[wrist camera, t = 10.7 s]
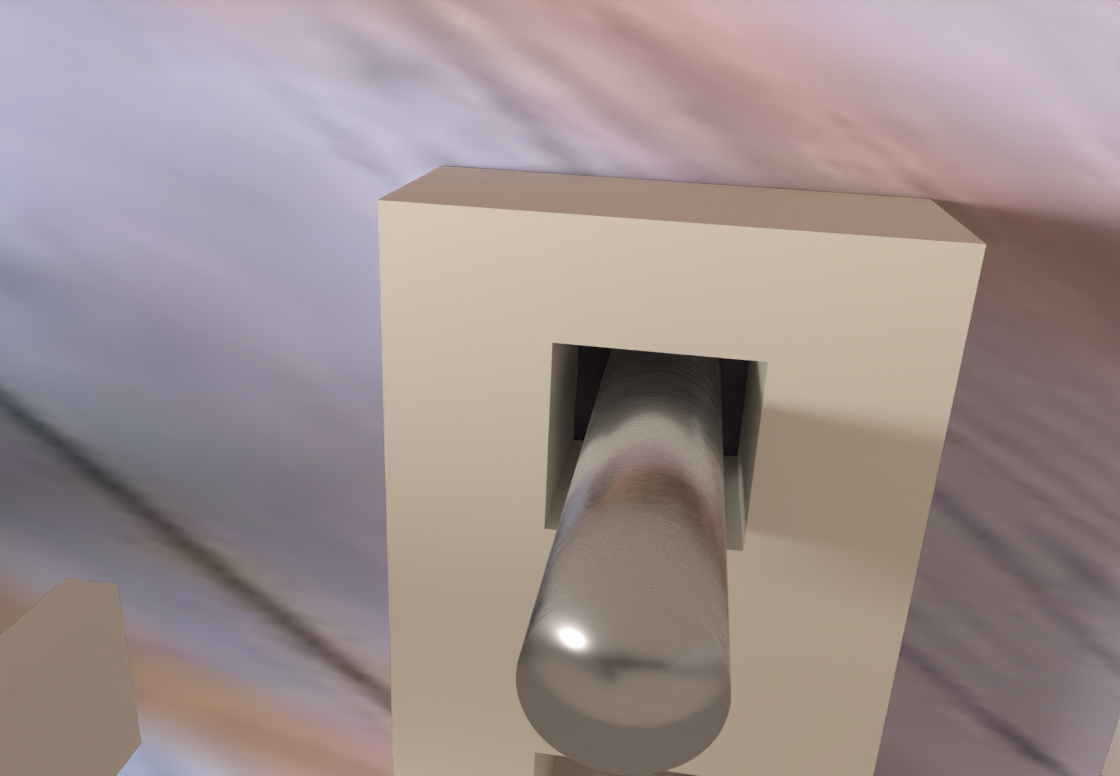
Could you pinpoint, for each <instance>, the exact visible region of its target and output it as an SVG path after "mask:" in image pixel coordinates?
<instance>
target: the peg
mask: <svg viewBox="0 0 1120 776" xmlns="http://www.w3.org/2000/svg"><path fill="white" fill-rule="evenodd" d="M516 688H517V694H518V698H519V701H520V704H521V707H522V710H523V711H524V713H525V715H526V717H527V719H528V721H529V722H530V724H531V725H532V727H533V728H534V729H535V731H536V732H537V733H538V734H539V735H540V736H541V737H542V738H543V739H544V740H545V741H546V742H547V743H548V744H549V745H550V746H551V747H553V748H554V749H555V750H557V751H558V752H560V753H561V754H562V755H564V756H566V757H568V758H569V759H571V760H573V761H575V762H577V763H579V764H582V765H584V766H587V767H589V768H593V769H596V770H599V771H603V772H608V773H613V774H623V775H644V774H653V773H658V772H663V771H667V770H670V769H673V768H676V767H678V766H681V765H683V764H685V763H687V762H689V761H691V760H692V759H694V758H695V757H697V756H698V755H700V754H701V753H702V752H703V751H704V750H706V749H707V748H708V747H709V746H710V745H711V744H712V743H713V741H714V740H715V739H716V738H717V737H718V735H719V733H720V732H721V730H722V728H723V727H724V724H725V722H726V719H727V717H728V714H729V709H730V705H731V671H730V641H729V612H728V582H727V552H726V523H725V493H724V463H723V434H722V404H721V375H720V362H719V358H717V357H705V356H694V355H683V354H672V353H661V352H650V351H638V350H627V349H616V348H612V349H611V352H610V355H609V358H608V361H607V365H606V368H605V371H604V375H603V378H602V381H601V385H600V388H599V391H598V395H597V398H596V401H595V405H594V408H593V411H592V415H591V418H590V421H589V425H588V428H587V431H586V435H585V438H584V441H583V445H582V448H581V451H580V455H579V458H578V461H577V465H576V468H575V472H574V475H573V478H572V482H571V485H570V488H569V492H568V495H567V498H566V502H565V505H564V508H563V512H562V515H561V518H560V522H559V525H558V528H557V532H556V535H555V538H554V542H553V545H552V548H551V552H550V555H549V558H548V562H547V565H546V568H545V572H544V575H543V578H542V582H541V585H540V588H539V592H538V595H537V598H536V602H535V605H534V608H533V612H532V615H531V618H530V622H529V625H528V628H527V632H526V635H525V639H524V642H523V645H522V649H521V652H520V655H519V659H518V662H517V668H516Z"/></svg>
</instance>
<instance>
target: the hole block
mask: <svg viewBox="0 0 1120 776" xmlns="http://www.w3.org/2000/svg"><path fill="white" fill-rule="evenodd" d="M378 230H379V266H380V303H381V340H382V376H383V413H384V450H385V486H386V523H387V560H388V596H389V633H390V670H391V706H392V743H393V776H873V775H874V770H875V765H876V761H877V756H878V751H879V746H880V742H881V737H882V732H883V728H884V723H885V718H886V714H887V709H888V704H889V700H890V695H891V690H892V685H893V681H894V676H895V671H896V667H897V662H898V657H899V653H900V648H901V643H902V638H903V634H904V629H905V624H906V620H907V615H908V610H909V606H910V601H911V596H912V591H913V587H914V582H915V577H916V573H917V568H918V563H919V559H920V554H921V549H922V545H923V540H924V535H925V530H926V526H927V521H928V516H929V512H930V507H931V502H932V498H933V493H934V488H935V483H936V479H937V474H938V469H939V465H940V460H941V455H942V451H943V446H944V441H945V436H946V432H947V427H948V422H949V418H950V413H951V408H952V404H953V399H954V394H955V390H956V385H957V380H958V375H959V371H960V366H961V361H962V357H963V352H964V347H965V343H966V338H967V333H968V328H969V324H970V319H971V314H972V310H973V305H974V300H975V296H976V291H977V286H978V282H979V277H980V272H981V267H982V263H983V258H984V253H985V249H986V244H985V243H984V242H983V241H982V240H981V239H979V238H978V237H977V236H976V235H974V234H973V233H972V232H971V231H969V230H968V229H967V228H966V227H964V226H963V225H962V224H961V223H959V222H958V221H957V220H956V219H954V218H953V217H952V216H951V215H949V214H948V213H947V212H946V211H944V210H943V209H942V208H941V207H939V206H938V205H937V204H936V203H934V202H933V201H932V200H931V199H925V198H910V197H895V196H880V195H866V194H851V193H836V192H821V191H806V190H792V189H777V188H762V187H747V186H732V185H718V184H703V183H688V182H673V181H658V180H644V179H629V178H614V177H599V176H584V175H570V174H555V173H540V172H525V171H510V170H495V169H481V168H466V167H451V166H440V167H438V168H437V169H435V170H433V171H431V172H429V173H427V174H425V175H424V176H422V177H420V178H418V179H416V180H414V181H412V182H410V183H409V184H407V185H405V186H403V187H401V188H399V189H397V190H396V191H394V192H392V193H390V194H388V195H386V196H384V197H382V198H381V199H379V200H378ZM579 345H583V346H594V347H605V348H616V349H627V350H638V351H650V352H661V353H672V354H683V355H694V356H705V357H717V358H728V359H739V360H749V366H748V374H747V382H746V390H745V398H744V406H743V414H742V422H741V430H740V438H739V446H738V454H737V456H729V455H723V463H724V493H725V523H726V552H727V582H728V612H729V641H730V671H731V705H730V709H729V714H728V717H727V719H726V722H725V724H724V727H723V728H722V730H721V732H720V733H719V735H718V737H717V738H716V739H715V740H714V741H713V743H712V744H711V745H710V746H709V747H708V748H707V749H706V750H704V751H703V752H702V753H701V754H700V755H698V756H697V757H695V758H694V759H692V760H691V761H689V762H687V763H685V764H683V765H681V766H678V767H676V768H673V769H670V770H667V771H663V772H658V773H653V774H644V775H623V774H613V773H608V772H603V771H599V770H596V769H593V768H589V767H587V766H584V765H582V764H579V763H577V762H575V761H573V760H571V759H569V758H568V757H566V756H564V755H562V754H561V753H560V752H558V751H557V750H555V749H554V748H553V747H551V746H550V745H549V744H548V743H547V742H546V741H545V740H544V739H543V738H542V737H541V736H540V735H539V734H538V733H537V732H536V731H535V729H534V728H533V727H532V725H531V724H530V722H529V721H528V719H527V717H526V715H525V713H524V711H523V710H522V707H521V704H520V701H519V698H518V694H517V688H516V668H517V662H518V659H519V655H520V652H521V649H522V645H523V642H524V639H525V635H526V632H527V628H528V625H529V622H530V618H531V615H532V612H533V608H534V605H535V602H536V598H537V595H538V592H539V588H540V585H541V582H542V578H543V575H544V572H545V568H546V565H547V562H548V558H549V555H550V552H551V548H552V545H553V542H554V538H555V535H556V532H557V528H558V525H559V522H560V518H561V515H562V512H563V508H564V505H565V502H566V498H567V495H568V492H569V488H570V485H571V482H572V478H573V475H574V472H575V468H576V465H577V461H578V458H579V455H580V451H581V448H582V445H583V441H581V440H574V421H575V402H576V384H577V365H578V347H579Z"/></svg>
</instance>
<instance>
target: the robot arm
mask: <svg viewBox="0 0 1120 776" xmlns="http://www.w3.org/2000/svg"><path fill="white" fill-rule="evenodd" d="M140 744H141V737H140V731H139V724H138V717H137V711H136V704H135V697H134V691H133V684H132V677H131V671H130V664H129V657H128V651H127V644H126V637H125V631H124V624H123V617H122V611H121V604H120V597H119V591H118V584H112V583H103V582H95V581H86V580H78V579H69V578H65V579H64V580H63V581H61V582H60V583H59V584H58V585H57V586H56V587H55V588H54V589H52V590H51V591H50V592H49V593H48V594H47V595H46V596H45V597H43V598H42V599H41V600H40V601H39V602H38V603H37V604H35V605H34V606H33V607H32V608H31V609H30V610H29V611H28V612H26V613H25V614H24V615H23V616H22V617H21V618H20V619H19V620H17V621H16V622H15V623H14V624H13V625H12V626H11V627H9V628H8V629H7V630H6V631H5V632H4V633H3V634H2V635H0V776H116V775H117V774H118V773H119V772H120V770H121V769H122V768H123V766H124V765H125V764H126V762H127V761H128V760H129V759H130V757H131V756H132V755H133V753H134V752H135V751H136V749H137V748H138V747H139V745H140ZM1101 776H1120V717H1119V720H1118V723H1117V726H1116V730H1115V733H1114V736H1113V739H1112V742H1111V745H1110V748H1109V751H1108V754H1107V757H1106V760H1105V763H1104V766H1103V769H1102V773H1101Z"/></svg>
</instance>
